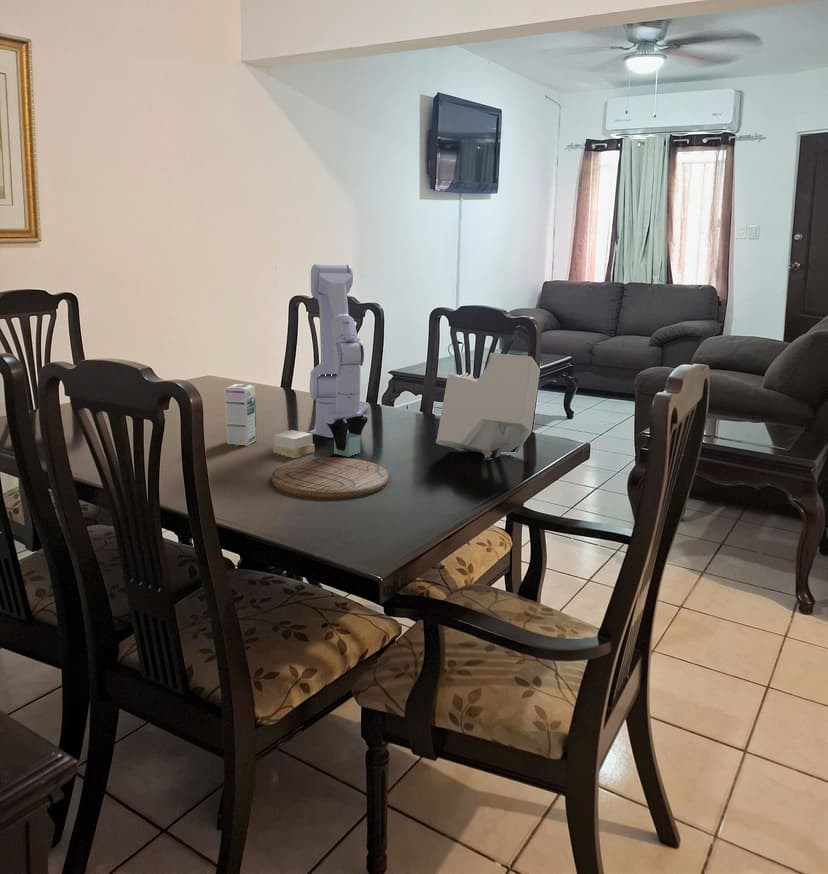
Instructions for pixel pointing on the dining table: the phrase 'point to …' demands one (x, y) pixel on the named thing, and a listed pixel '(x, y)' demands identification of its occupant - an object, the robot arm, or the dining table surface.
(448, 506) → the dining table surface
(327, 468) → the trivet
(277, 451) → the tower base
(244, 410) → the syrup box
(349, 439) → the teal cube
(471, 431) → the grey stepped panel block
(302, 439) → the tower top
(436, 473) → the dining table surface
